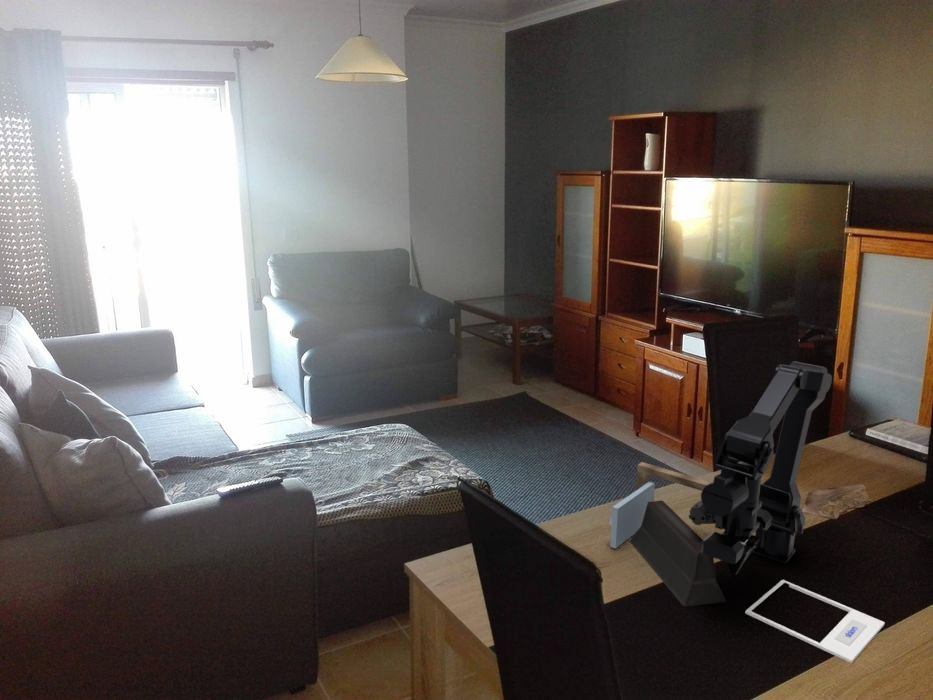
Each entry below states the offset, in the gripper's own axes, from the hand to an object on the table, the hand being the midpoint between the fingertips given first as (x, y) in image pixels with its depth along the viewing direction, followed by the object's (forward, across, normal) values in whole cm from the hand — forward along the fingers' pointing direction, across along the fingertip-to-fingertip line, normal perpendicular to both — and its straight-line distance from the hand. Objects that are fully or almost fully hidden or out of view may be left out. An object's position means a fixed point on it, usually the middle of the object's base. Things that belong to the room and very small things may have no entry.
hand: (733, 573), depth 138 cm
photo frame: (+4, -1, +14) cm, 15 cm away
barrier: (+4, 0, -11) cm, 12 cm away
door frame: (+4, -15, -16) cm, 22 cm away
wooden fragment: (+4, -53, +5) cm, 53 cm away
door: (+3, -7, -25) cm, 26 cm away
